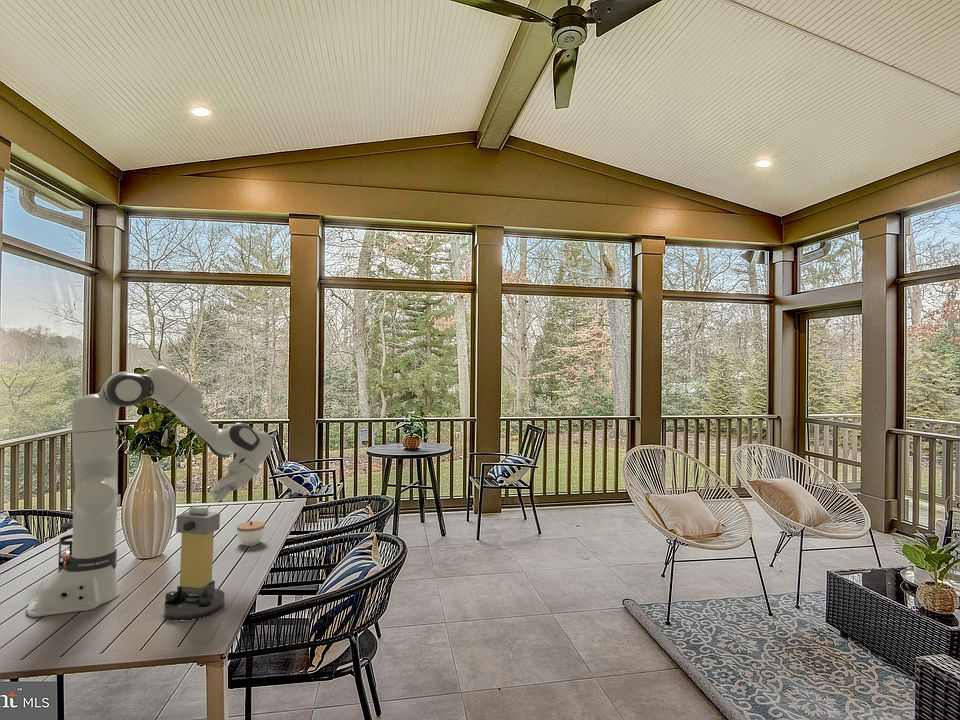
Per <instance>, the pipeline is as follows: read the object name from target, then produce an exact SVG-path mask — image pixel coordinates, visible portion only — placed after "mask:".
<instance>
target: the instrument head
mask: <svg viewBox="0 0 960 720" xmlns="http://www.w3.org/2000/svg"><path fill="white" fill-rule="evenodd" d="M220 522H221V513H220V512H214V511H209V508H208V507H200V506H199V507H198V506H197V507H196V506H192V507H190V508H189V509H188V511H186V512H183V513H181V514H178V515H176V528H175V532H176V533H180V534H181V541H180V542H181V547H180V565H179V566H180V567H179V568H180V569H179V570H180V571H179V585H180V586H182V593H187V594H197V595H204V589H205V588H206V587H208V586H209V585H208V584H209V583H210V582H212V581H213V580H212V579H213V563H214V561H213V560H214V538H215V537H214V535H215V533H214V532H216V531H218V530H220V524H221V523H220Z"/></svg>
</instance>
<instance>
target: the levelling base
mask: <svg viewBox="0 0 960 720" xmlns="http://www.w3.org/2000/svg"><path fill="white" fill-rule="evenodd" d="M215 584H216V581H215V580H212V582H210V583H209V584H208V585H209V586H208V587H206V588H205V589H204V595H197V594H187V593H182V586H180V584H178V585H177V586H176V587H177V588H176V589H177V591H175V590H174V591H173V590H172V591H168V592H166V593H165V599H164V601H165V602H164V605H163V607H164V608H163V611H164V612H163V616H164V618H166V620H169V619H170V620H169V621H172V620H179V621H178V622H181V621H180V620H192V619H198V618H202V619H204V618H203V617H205V618H208V617H210V615H211V616H213V615H215V614H217V613H219V612H220V611H221V610H223V608H224V606H225V592H224V591H223V589H222V590H221V589H219V588H215V586H216V585H215ZM218 611H219V612H218ZM216 612H217V613H216ZM214 613H215V614H214ZM212 614H213V615H212ZM207 616H208V617H207ZM198 620H199V619H198ZM192 621H193V620H192Z"/></svg>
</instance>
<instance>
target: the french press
mask: <svg viewBox="0 0 960 720" xmlns="http://www.w3.org/2000/svg"><path fill="white" fill-rule="evenodd" d="M69 509H70V510H71V509H72V510H73V505H72V506H70V507H69ZM59 527H60V528H61V532H62V533H65V532H66V531H68V530H70V529H73V520H70V521H65V522H63V523H60V525H59ZM72 537H73V533H72V534H68V535H63V536H62V537H60V538H59V544H58V565H57V568H58V569H57V570H58V571H57V573H58V572H60V571H61V570H62V569H63V561H62V558H63V556H64V555H65V554H69V555H72V540H69V539H72ZM62 545H63V546H69V549H68V550H67V551H64V552H62Z"/></svg>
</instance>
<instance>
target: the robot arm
mask: <svg viewBox="0 0 960 720" xmlns="http://www.w3.org/2000/svg"><path fill="white" fill-rule="evenodd" d="M202 393H203V392H202V391H201V390H200V389H199V388H198V387H197V386H196V385H195V384H194V383H192V382H191V381H190V380H188V379H187V378H185V377H184V376H183V375H181V374H179V373H177V372H176V371H174V370H172V369H171V368H168V367H166V366H163V365H157V366H154V367H152V368H150V369H149V370H148V371H147V372H146V373H144V374H139V373H134V372H131V371H127V370H125V371H117V372H114V373H112V374H110V375H108V376H107V377H105V379H104V380H103V382H102V384H101V385H100V387H99V388H98V390H97V392H96V393H91V394H87V395H83V396H81V397H79V398H77V400H76V401H75V403H74V407H73V412H72V420H71V438H72V442H71V443H72V458H73V459H72V460H73V472H74V491H73V497H72V506H73V509H72V521H73V528H72V534H73V537H72V538H71V539H72V540H71V541H72V555H69V554H65V555H64V556H63V558H61V562H62V561H63V569H62V570H61V571H60V572H58V571H57V573H55V575H52V577H50V578H49V579H47V580H46V581H45V582H44V583H43V584H42V585H41V587H40V589H39V591H38V594H37V597H36V598H34V599H33V600H32V601H30V602H29V604H28V606H27V608H26V614H27V616H29V617H31V618H36V617H37V618H38V617H44V616H50V615H60V614H66V613H75V612H76V613H77V612H82V611H89V610H90V611H91V610H93V609H96V608H98V607H99V606H101V605H103V604H105V603H106V604H107V603H108V602H111V601H112V600H114V599H116V598H117V597H118V596H119V595H120V594H121V593H120V592H121V591H120V590H119V586H118V581H117V574H116V573H117V572H116V567H117V565H118V552H117V551H118V549H116V544H117V543H116V540H117V539H116V537H117V536H116V535H117V517H118V502H119V501H118V500H119V499H118V497H119V492H118V491H119V489H118V488H119V487H118V463H117V461H118V459H117V458H118V457H117V434H116V433H117V429H116V428H117V427H116V414H117V412H118V410H119V409H120V408H121V407H123V408H124V407H125V408H128V407H133V406H136V405H138V404H140V403H142V402H143V401H144V400H148V398H151V399H153V400H155V401H157V402H158V403H160V404H161V405H162V406H164V407H165V408H167V409H168V410H169V411H171V412H172V413H173V414H174V415H175V416H176V417H177V419H178V420H179V422H181V423H182V424H183V425H184V426H185V427H186V428H188V429H189V430H190V431H191V432H193V433H194V434H195V435H196V436H197V437H198V438H200V439H201V440H202V441H203V442H204V443H205V445H207V447H208V449H209V450H210V452H211V453H212V454H213V455H215V456H216V457H217V458H218V457H219V458H228V457H230V456H232V455H234V454H236V456H235V457H234V459H233V460H231V462H230V464H229V465H227V474H226V475H224V476H222V477H221V478H220V479H219V480H218V481H217V482H216V484H215V485H214V486H213V487H212V488H211V489H210V491H209V494H210V495H211V496H213V501H214V502H215V503H219V502H221V501H223V499H224V498H225V497H226V496H227V495H229V494H230V493H231V492H234V491H236V490H238V489H241V488H242V487H244V486H245V485H247V484H248V482H250V480H252V478H253V477H254V476H255V475H256V474H259V472H260V470H261V468H260V467H259V466H260V465H261V464H262V463H263V462H265V460H266V459H267V458H268V456H269V455H270V453H271V451H272V449H273V446H274V441H273V438H272V437H271V435H270V434H269V433H267V432H266V431H262V430H261V431H259V430H256V429H254V428H252V426H250V425H249V424H248V423H245V422H236V423H234V424H232V425H229V426H227V427H226V428H218V427H217V426H215V425H214V424H213V423H212V422H211V421H209V420H208V419H207V418H206V417H205V415H203V414H202V412H201V407H202V405H203V394H202Z"/></svg>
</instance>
